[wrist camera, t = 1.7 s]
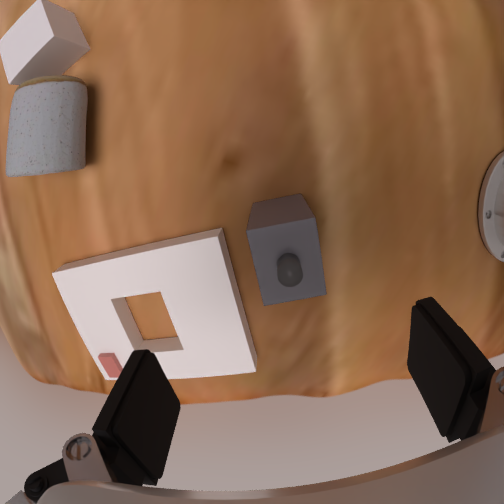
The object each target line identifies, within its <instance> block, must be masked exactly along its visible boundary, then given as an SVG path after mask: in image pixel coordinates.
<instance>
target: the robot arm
mask: <svg viewBox="0 0 504 504" xmlns="http://www.w3.org/2000/svg"><path fill="white" fill-rule="evenodd" d="M478 218H479V228H480V232H481V237H482V239H483V242H484V244H485V246H486V248H487V249H488V251H489V252H490V253H491V254H492V255H493V256H494V257H495V258H497V259H498V260H500V261H502V262H504V151H503V152H502V153H500V154H499V155H498V156H497V157H496V158H495V160H494V161H493V162H492V164H491V165H490V167H489V169H488V171H487V173H486V176H485V178H484V181H483V184H482V188H481V192H480V199H479V212H478ZM407 365H408V370H409V372H410V374H411V376H412V378H413V380H414V381H415V383H416V385H417V387H418V389H419V391H420V393H421V395H422V397H423V399H424V401H425V403H426V405H427V407H428V409H429V411H430V413H431V415H432V417H433V419H434V422H435V424H436V426H437V428H438V430H439V432H440V434H441V436H442V437H445V436H446V437H447V440H448V442H449V443H450V442H452V441H454V440H457V439H459V438H460V439H461V441H459V442H457V443H455V444H452V445H450V446H447V447H445V448H442V449H440V450H437V451H435V452H432V453H430V454H427V455H424V456H421V457H418V458H415V459H412V460H409V461H406V462H403V463H400V464H397V465H394V466H390V467H387V468H384V469H380V470H376V471H373V472H369V473H365V474H361V475H357V476H352V477H348V478H343V479H338V480H333V481H328V482H322V483H316V484H310V485H303V486H296V487H287V488H277V489H266V490H249V491H191V490H175V489H164V488H153V487H143V486H142V485H143V484H146V485H154V486H156V485H157V482H158V479H160V478H161V477H162V475H163V472H164V467H165V464H166V460H167V456H168V452H169V449H170V445H171V441H172V437H173V434H174V430H175V426H176V423H177V419H178V415H179V411H180V402H179V399H178V398H177V396H176V394H175V392H174V390H173V388H172V386H171V385H170V383H169V381H168V379H167V377H166V375H165V373H164V371H163V369H162V367H161V365H160V363H159V361H158V359H157V357H156V355H155V354H154V353H151V352H150V350H148V349H143V350H134V351H133V352H132V353H131V355H130V357H129V359H128V360H127V362H126V364H125V366H124V368H123V370H122V372H121V373H120V375H119V377H118V379H117V381H116V383H115V385H114V387H113V388H112V390H111V392H110V394H109V396H108V398H107V400H106V402H105V404H104V406H103V408H102V410H101V412H100V414H99V416H98V418H97V420H96V422H95V424H94V426H93V428H92V430H93V431H94V433H93V435H92V436H91V435H90V434H86V433H80V434H77V435H74V436H73V437H71V438H70V439H69V440H68V441H67V442H66V443H65V445H64V446H63V450H62V456H63V458H62V459H60V460H58V461H56V462H54V463H52V464H50V465H48V466H46V467H44V468H42V469H40V470H38V471H36V472H34V473H33V474H31V475H30V476H29V477H28V478H27V480H26V482H25V485H24V490H25V492H23V491H19V492H18V493H17V494H16V495H15V496H14V497H12V498H11V499H10V500H9V501H8V502H6V503H5V504H504V367H501V368H500V369H498V370H495V368H494V367H493V366H492V365H491V363H490V362H489V361H488V360H487V358H486V357H485V356H484V355H483V353H482V352H481V351H480V350H479V348H478V347H477V346H476V345H475V344H474V342H473V341H472V340H471V339H470V338H469V336H468V335H467V334H466V333H465V332H464V331H463V329H462V328H461V327H459V326H458V325H457V324H456V323H455V322H454V320H453V319H452V318H451V317H450V316H449V315H448V314H447V312H446V311H445V310H444V309H443V308H442V307H441V306H440V305H439V304H438V303H437V301H436V300H435V299H434V298H433V297H428V298H424V299H421V300H418V301H416V305H414V306H413V307H412V313H411V329H410V341H409V351H408V360H407Z"/></svg>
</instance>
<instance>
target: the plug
mask: <svg viewBox="0 0 504 504" xmlns="http://www.w3.org/2000/svg"><path fill="white" fill-rule="evenodd" d="M246 233H247V237H248V241H249V245H250V249H251V254H252V258H253V262H254V266H255V270H256V275H257V279H258V283H259V287H260V291H261V296H262V300H263V304H264V306H266V305H272V304H278V303H283V302H289V301H294V300H300V299H305V298H310V297H316V296H321V295H326V286H325V279H324V271H323V264H322V257H321V250H320V244H319V237H318V231H317V225H316V219H315V216H314V215H313V213H312V211H311V209H310V208H309V206H308V205H307V203H306V201H305V200H304V198H303V196H302V195H301V194H296V195H291V196H286V197H281V198H276V199H271V200H266V201H261V202H256V203H253V205H252V209H251V213H250V217H249V221H248V225H247V229H246Z"/></svg>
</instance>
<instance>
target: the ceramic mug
mask: <svg viewBox="0 0 504 504" xmlns="http://www.w3.org/2000/svg"><path fill="white" fill-rule="evenodd" d="M87 103H88V96H87V86H86V84H85V83H84V82H83V81H82V80H81V79H79V78H76V77H72V76H64V75H51V76H41V77H36V78H32V79H29V80H27V81H25V82H23V83H22V84H20V85H19V86H18V88H17V89H16V91H15V94H14V97H13V101H12V105H11V110H10V119H9V131H8V142H7V155H6V175H7V176H8V177H18V176H30V175H42V174H48V173H58V172H64V171H72V170H79V169H83V168H84V167H85V163H86V161H85V143H86V114H87Z"/></svg>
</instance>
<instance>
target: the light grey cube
mask: <svg viewBox="0 0 504 504" xmlns="http://www.w3.org/2000/svg"><path fill="white" fill-rule="evenodd" d="M89 50H90V47H89V45H88V43H87V41H86V39H85V37H84V35H83V32H82V30H81V28H80V26H79V24H78V22H77V19H76V17H75V15H74V13H72V12H70V11H68V10H66V9H64V8H62V7H60V6H58V5H56V4H54V3H52V2H49V1H47V0H37V1H36V2H35V3H34V4H33V5H32V6H31V7H30V8H29V9H28V10H27V11H26V12H25V13H24V14H23V15H22V16H21V17H20V18H19V19H18V20H17V21H16V22H15V24H14V25H13V26H12V27H11V28H10V29H9V30H8V32H7V33H6V34H5V35H4V36H3V37H2V39H1V40H0V53H1V57H2V61H3V65H4V69H5V72H6V76H7V79H8V82H9V84H13V85H20V84H22V83H23V82H25V81H27V80H29V79H32V78H36V77H41V76H51V75H62V74H63V73H64V72H65V71H66V70H67V69H68V68H70V67H71V66H72V65H73V64H74V63H75V62H76V61H77V60H79V59H80V58H81V57H82V56H83V55H84V54H86V53H87V52H88V51H89Z"/></svg>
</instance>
